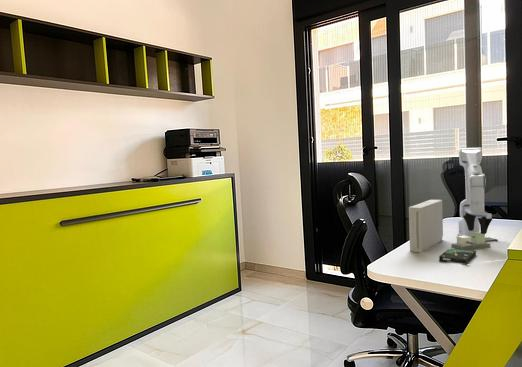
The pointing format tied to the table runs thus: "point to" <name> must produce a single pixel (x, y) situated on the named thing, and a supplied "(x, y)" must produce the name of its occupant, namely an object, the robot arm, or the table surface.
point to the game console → (425, 225)
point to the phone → (490, 239)
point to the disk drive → (457, 256)
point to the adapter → (464, 240)
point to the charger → (477, 238)
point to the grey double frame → (473, 246)
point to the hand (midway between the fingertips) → (477, 232)
